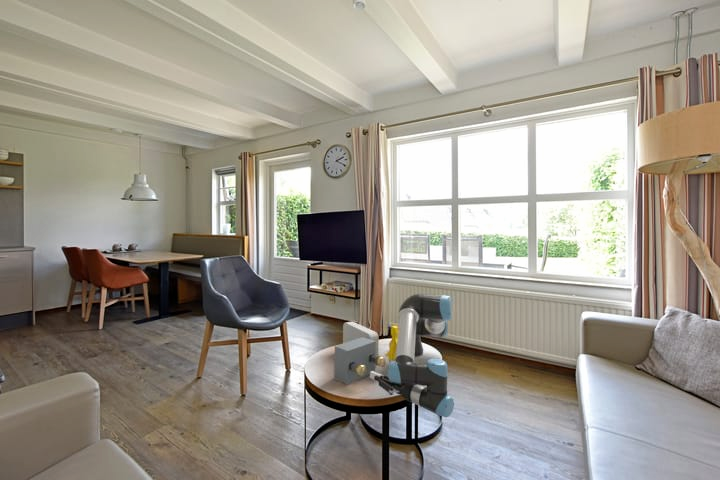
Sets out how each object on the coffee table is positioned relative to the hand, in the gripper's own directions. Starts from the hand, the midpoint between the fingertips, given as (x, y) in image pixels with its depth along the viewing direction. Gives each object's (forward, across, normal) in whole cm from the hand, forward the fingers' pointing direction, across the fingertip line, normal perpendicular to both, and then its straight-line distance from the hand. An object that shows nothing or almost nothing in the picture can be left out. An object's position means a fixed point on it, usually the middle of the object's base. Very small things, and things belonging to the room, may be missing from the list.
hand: (371, 374), depth 145 cm
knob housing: (+16, +7, -8) cm, 20 cm away
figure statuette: (+9, +31, -8) cm, 33 cm away
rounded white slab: (+30, +24, -8) cm, 40 cm away
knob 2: (+10, +14, -2) cm, 17 cm away
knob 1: (+10, 0, -2) cm, 10 cm away
